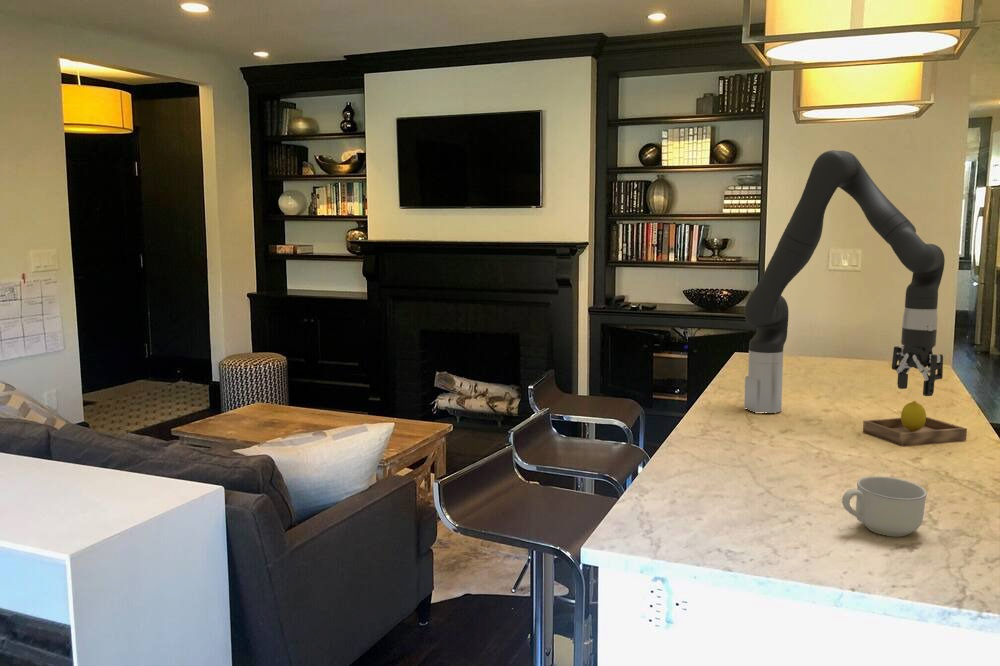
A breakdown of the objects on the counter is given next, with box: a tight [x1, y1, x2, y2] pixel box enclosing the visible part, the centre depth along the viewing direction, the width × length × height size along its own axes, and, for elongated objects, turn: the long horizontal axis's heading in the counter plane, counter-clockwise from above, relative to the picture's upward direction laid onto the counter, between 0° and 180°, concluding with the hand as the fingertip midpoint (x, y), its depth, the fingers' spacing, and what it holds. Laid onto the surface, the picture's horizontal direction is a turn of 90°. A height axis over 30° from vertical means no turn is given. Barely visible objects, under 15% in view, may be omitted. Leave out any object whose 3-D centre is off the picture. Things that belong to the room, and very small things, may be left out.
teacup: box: [841, 475, 928, 538], centre depth 140 cm, size 14×11×8 cm
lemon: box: [900, 400, 927, 432], centre depth 202 cm, size 6×6×8 cm
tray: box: [862, 416, 968, 447], centre depth 202 cm, size 18×14×3 cm
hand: (914, 392), depth 201 cm, fingers open, 8 cm apart
